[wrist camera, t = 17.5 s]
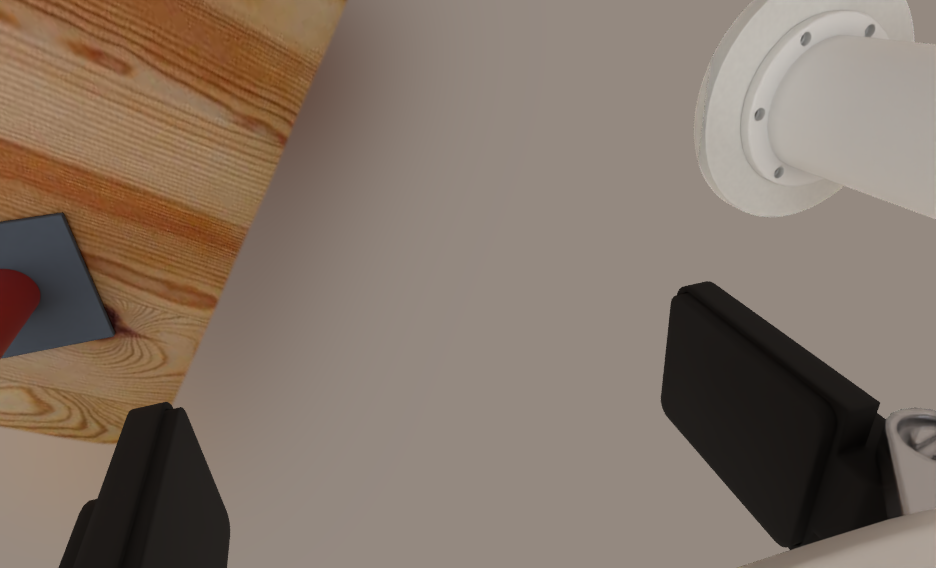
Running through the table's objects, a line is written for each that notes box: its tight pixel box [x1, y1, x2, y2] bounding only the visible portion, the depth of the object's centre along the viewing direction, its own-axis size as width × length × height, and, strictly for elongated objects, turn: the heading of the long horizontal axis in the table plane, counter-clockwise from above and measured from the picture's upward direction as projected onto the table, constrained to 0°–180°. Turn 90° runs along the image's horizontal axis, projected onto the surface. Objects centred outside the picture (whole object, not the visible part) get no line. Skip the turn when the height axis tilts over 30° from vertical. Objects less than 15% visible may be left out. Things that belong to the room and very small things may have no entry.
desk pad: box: [0, 213, 115, 358], centre depth 33 cm, size 8×8×1 cm
